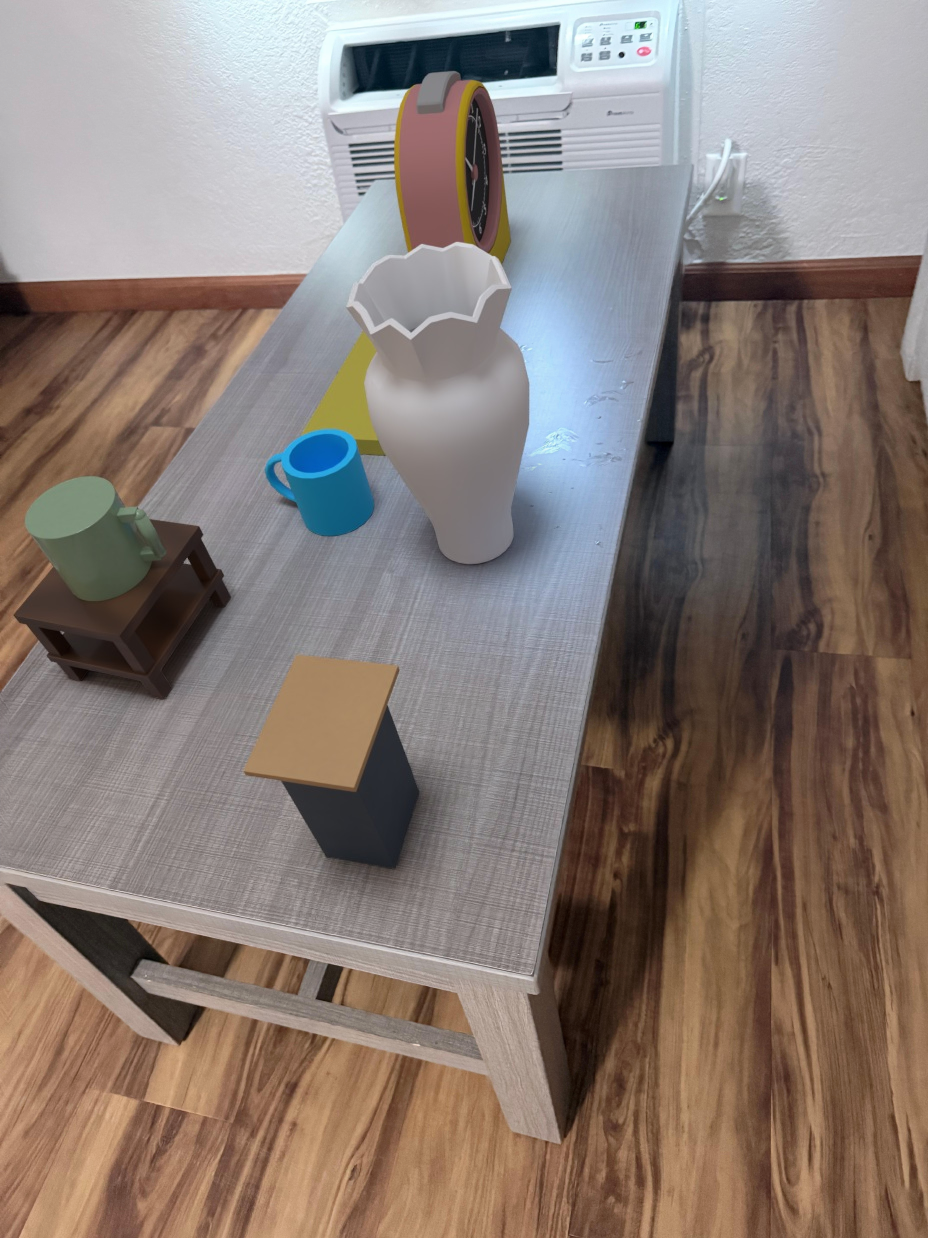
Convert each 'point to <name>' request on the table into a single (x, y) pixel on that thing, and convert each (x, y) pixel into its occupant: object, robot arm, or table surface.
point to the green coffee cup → (93, 537)
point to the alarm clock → (450, 166)
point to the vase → (447, 389)
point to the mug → (325, 481)
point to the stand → (340, 757)
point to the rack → (129, 614)
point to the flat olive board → (349, 401)
